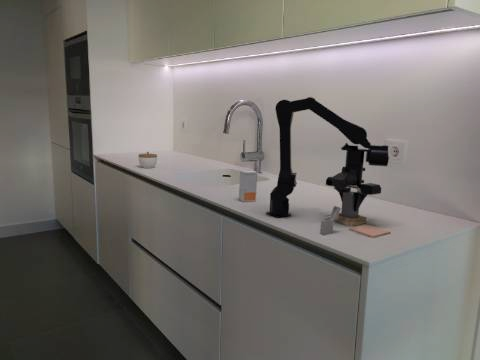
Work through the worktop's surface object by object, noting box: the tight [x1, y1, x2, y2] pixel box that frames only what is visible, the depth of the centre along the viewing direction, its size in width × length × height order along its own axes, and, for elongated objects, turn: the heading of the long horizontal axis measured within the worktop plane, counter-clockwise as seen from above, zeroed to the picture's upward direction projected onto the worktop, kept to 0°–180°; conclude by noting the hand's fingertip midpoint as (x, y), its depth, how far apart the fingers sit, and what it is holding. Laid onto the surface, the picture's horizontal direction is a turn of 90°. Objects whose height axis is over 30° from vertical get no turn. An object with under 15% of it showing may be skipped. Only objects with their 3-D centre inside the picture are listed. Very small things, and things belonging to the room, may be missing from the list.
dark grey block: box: [340, 190, 360, 219], centre depth 136 cm, size 4×4×10 cm
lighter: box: [319, 205, 342, 236], centre depth 122 cm, size 7×2×8 cm, turn 129°
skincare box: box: [238, 170, 258, 203], centre depth 160 cm, size 6×4×12 cm
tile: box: [348, 223, 391, 239], centre depth 125 cm, size 9×9×1 cm
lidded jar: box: [138, 151, 158, 169], centre depth 236 cm, size 11×11×9 cm
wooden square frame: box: [334, 212, 368, 227], centre depth 136 cm, size 8×8×2 cm
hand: (350, 210), depth 136 cm, fingers closed on dark grey block, 4 cm apart
